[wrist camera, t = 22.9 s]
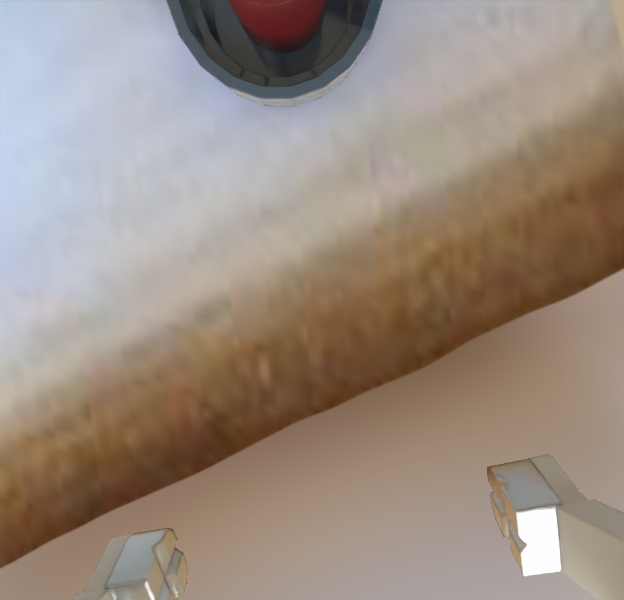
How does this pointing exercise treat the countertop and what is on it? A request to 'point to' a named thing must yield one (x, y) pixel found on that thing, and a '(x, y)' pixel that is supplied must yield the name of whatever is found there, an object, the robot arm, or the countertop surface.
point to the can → (280, 22)
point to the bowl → (272, 65)
